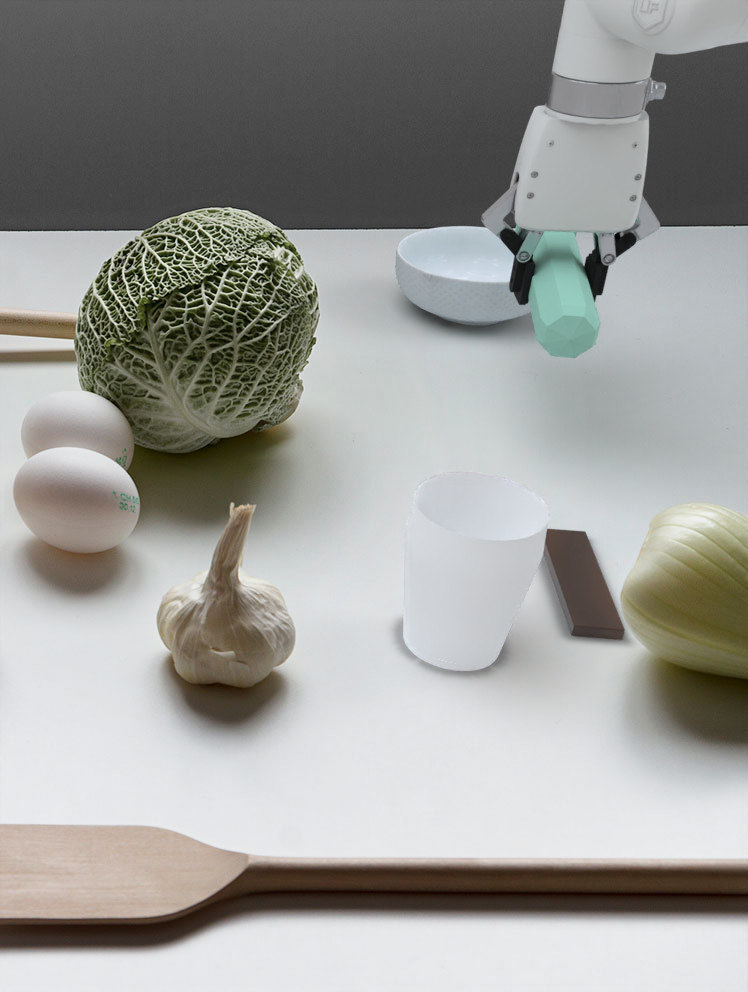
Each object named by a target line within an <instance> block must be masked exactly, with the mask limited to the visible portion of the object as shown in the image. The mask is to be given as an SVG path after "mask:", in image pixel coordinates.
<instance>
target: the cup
mask: <svg viewBox="0 0 748 992" xmlns="http://www.w3.org/2000/svg"><path fill="white" fill-rule="evenodd" d="M549 521H550V511H549V508H548V506H547V504H546V503H545V501H544V500H543V499H542V498H541V497H540V496H539V495H538V494H537V493H535V492H534V491H532V489H530V488H528V487H526V486H524V485H522V484H520V483H518V482H516V481H513V480H512V479H508V478H505V477H502V476H498V475H494V474H490V473H485V472H476V471H451V472H444V473H439V474H436V475H433V476H430V477H428V478H426V479H424V480H423V481H422V482H420V483H419V484H418V486H417V487H416V489H415V491H414V494H413V499H412V503H411V507H410V509H409V515H408V518H407V521H406V524H405V528H404V544H403V545H404V547H403V549H404V550H403V611H402V612H403V614H402V615H403V617H402V619H403V620H402V621H403V622H402V637H403V641H404V643H405V645H406V647H407V648H408V650H410V652H411V653H412V654H413V655H414V656H416V657H417V658H418V659H420V660H422V661H424V662H425V663H427V664H430V665H431V666H434V667H436V668H440V669H444V670H448V671H454V672H474V671H478V670H482V669H485V668H487V667H489V666H491V665H492V664H494V663H495V662H496V661H497V659H498V657H499V655H500V654H501V651H502V649H503V646H504V644H505V642H506V640H507V638H508V636H509V633H510V631H511V629H512V627H513V625H514V622H515V620H516V618H517V616H518V613H519V611H520V609H521V608H522V604H523V603H524V601H525V598H526V596H527V594H528V592H529V589H530V587H531V585H532V584H533V581H534V578H535V576H536V575H537V572H538V570H539V567H540V565H541V563H542V560H543V557H544V554H543V552H544V544H545V538H546V532H547V529H548V527H549V523H550V522H549ZM418 649H419V650H418ZM421 651H422V652H421ZM424 653H425V654H424ZM426 654H427V655H426ZM428 655H429V656H428ZM433 657H434V658H433ZM435 658H436V659H435ZM438 659H440V660H438ZM441 660H444V661H441ZM445 661H447V662H445ZM449 662H450V663H449ZM451 662H452V663H451ZM455 663H456V664H455Z"/></svg>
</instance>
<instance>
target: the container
mask: <svg viewBox="0 0 748 992" xmlns="http://www.w3.org/2000/svg"><path fill="white" fill-rule="evenodd" d="M519 229H520V227H519V226H518V225H517V224H516V223H515V228H514V231H515V232H516V233H518V231H519ZM577 234H578V232H551V231H544V233H543V235H542V237H541V239H540V241H539V243H538V245H537V247H536V249H535V251H534V252H533V261H534V263H535V271H534V276H533V277H532V281H531V286H530V291H529V296H528V298H529V303H530V309H531V312H530V314H531V319H532V324H533V329H534V335H535V340H536V341H537V342H538V344H540V346H541V348H543V349H544V350H545V352H546V353H547V354H548V355H549V356H550V357H556V358H566V359H567V358H569V359H576V358H577V357H579V356H580V355H583V353H585V352H587V351H588V350H590V349H592V348H593V347H594V346H595V345H596V344H597V340H598V336H599V331H600V327H601V324H602V323H601V319H600V316H599V312H598V310H597V306H596V301H595V302H594V299H593V295H592V292H591V289H590V285H589V282H588V278H587V275H586V272H585V268H584V265H585V264H584V262H583V258H582V255H581V251H580V248H579V244H578V242H577V239H576V237H577Z"/></svg>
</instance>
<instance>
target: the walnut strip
mask: <svg viewBox="0 0 748 992" xmlns="http://www.w3.org/2000/svg"><path fill="white" fill-rule="evenodd" d="M543 557H544V560H545V563H546V566H547V568H548V571H549V574H550V577H551V580H552V582H553V583H552V584H553V586H554V589H555V592H556V595H557V598H558V600H559V602H560V603H559V604H560V606H561V609H562V612H563V615H564V618H565V621H566V624H567V627H568V630H569V633H570V635H571V637H580V638H592V639H603V640H605V639H607V640H617V641H622V640H623V638H624V634H625V631H626V630H625V627H624V624H623V621H622V620H621V617H620V614H619V612H618V609H617V607H616V604H615V602H614V600H613V597H612V594H611V592H610V589H609V587H608V584H607V582H606V579H605V576H604V574H603V571H602V570H601V566H600V564H599V561H598V559H597V557H596V555H595V552H594V549H593V547H592V544H591V542H590V539H589V536H588V534H587V532H586V531H584V530H574V529H572V530H571V529H570V530H569V529H559V528H547V532H546V538H545V544H544V552H543Z"/></svg>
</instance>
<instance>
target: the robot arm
mask: <svg viewBox="0 0 748 992" xmlns="http://www.w3.org/2000/svg"><path fill="white" fill-rule="evenodd" d="M743 43H748V0H564V4H563V11H562V15H561V21H560V26H559V31H558V36H557V42H556V47H555V50H554V51H555V52H554V56H553V57H554V58H553V62H552V68H551V71H550V72H551V73H550V78H549V84H548V88H547V94H546V98H545V104H544V105H537V106H535V107H534V109H533V111H532V113H531V115H530V117H529V120H528V122H527V125H526V129H525V131H524V134H523V138H522V140H521V144H520V147H519V151H518V154H517V158H516V162H515V165H514V169H513V172H512V177H511V181H510V184H509V189H507V190H506V191H505V192H504V193H503V194H502V195H501V196H500V197H499V198H498V199H497V200H496V201H495V202H493V204H491V206H490V207H488V208H487V209H486V210H485V211H484V212H483V213H482V214H481V217H480V220H481V222H482V224H483V227H485V228H488V229H489V230H490V231H491V232H492V233H493V234H495V235H496V236H497V237H498V238H499V239H501V240H502V242H503V243H504V244H505V245H506V247H507V248H508V249H509V250H510V251H511V252H512V253H513V255H514V261H513V267H512V272H511V277H510V283H509V290H510V292H514V295H515V297H516V299H517V302H518V304H519V305H526V304H528V302H529V298H528V296H529V291H530V286H531V281H532V277H533V276H534V271H535V263H534V261H533V252H534V251H535V249H536V247H537V245H538V243H539V241H540V239H541V237H542V235H543V233H544V231H551V232H577V233H585V234H586V233H587V234H588V233H589V234H592V239H593V249H592V250H591V253H588V255H587V256H586V257H585V261H584V264H583V265H584V268H585V272H586V275H587V278H588V282H589V285H590V289H591V292H592V295H593V299H594V302H595V303H596V301H597V296H602V295H603V293H604V289H605V284H606V281H607V277H608V272H609V267H610V266H611V265H613V264H614V263H615V262H616V260H617V258H619V257H621V255H623V254H624V253H625V252H627V251H628V250H630V249H631V248H633V247H634V246H635V245H636V243H637V242H639V241H642V240H644V239H645V238H647V237H649V236H650V235H652V234H654V233H656V232H658V230H660V228H661V223H660V221H659V219H658V217H657V216H656V214H655V212H653V210H652V207H650V205H649V203H648V201H647V200H646V198H645V197H644V195H643V191H644V186H645V179H646V173H647V164H648V153H649V152H648V151H649V141H650V140H649V138H650V116H649V114H648V112H647V111H646V107H647V105H648V104H649V102H652V101H654V100H663V99H664V97H665V95H666V91H667V84H666V82H658V81H656V80H653V77H651V74H652V70H653V65H654V61H655V60H654V59H655V56H656V54H661V55H682V54H687V53H688V54H689V53H694V52H699V51H706V50H709V49H714V48H717V47H722V46H728V45H735V44H743ZM510 213H511V214H513V215H514V223H515V225H516V224H517V225H518V226H519V227H520V229H519V231H518V233H516V232H515V229H514V228H513V227H512V226H511V225H510V224H507V222H506V221H505V218H506V217H507V216H508V215H509V214H510Z"/></svg>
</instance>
